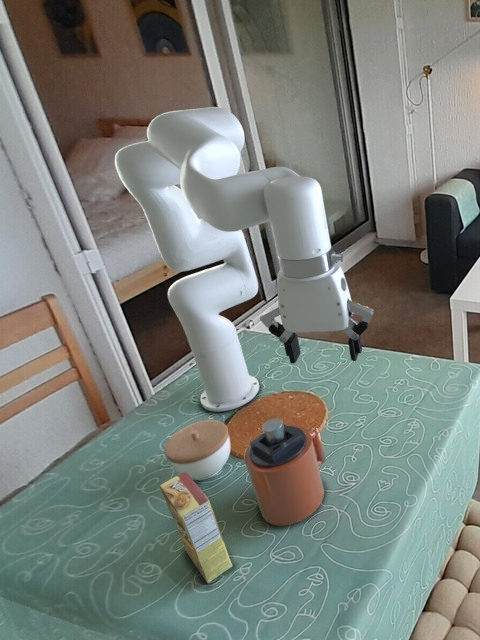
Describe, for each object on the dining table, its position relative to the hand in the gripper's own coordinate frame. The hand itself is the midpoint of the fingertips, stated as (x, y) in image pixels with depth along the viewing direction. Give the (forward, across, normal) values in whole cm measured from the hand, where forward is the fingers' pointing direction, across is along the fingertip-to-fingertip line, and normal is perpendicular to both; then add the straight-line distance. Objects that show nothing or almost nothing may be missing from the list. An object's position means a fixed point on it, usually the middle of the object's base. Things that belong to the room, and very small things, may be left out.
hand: (325, 357), depth 81 cm
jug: (+30, +9, +1) cm, 31 cm away
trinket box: (+30, +30, -6) cm, 43 cm away
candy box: (+30, +20, +13) cm, 39 cm away
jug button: (+15, +10, +2) cm, 18 cm away
